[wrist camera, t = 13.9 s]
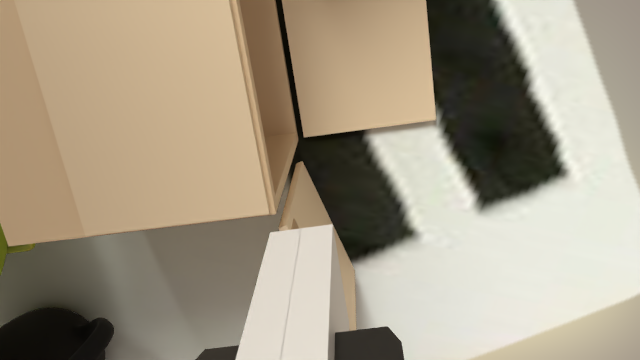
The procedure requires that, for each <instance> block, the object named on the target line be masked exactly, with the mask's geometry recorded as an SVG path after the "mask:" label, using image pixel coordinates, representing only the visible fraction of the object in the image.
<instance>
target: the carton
mask: <svg viewBox="0 0 640 360" xmlns="http://www.w3.org/2000/svg"><path fill="white" fill-rule="evenodd" d="M282 5H283V11H284V17H285V23H286V29H287V36H288V42H289V48H290V54H291V60H292V67H293V73H294V79H295V85H296V91H297V98H298V104H299V110H300V116H301V122H302V129H303V135H304V137H311V136H319V135H326V134H334V133H342V132H349V131H357V130H364V129H372V128H379V127H387V126H395V125H402V124H410V123H417V122H425V121H432V120H436V113H435V101H434V89H433V77H432V65H431V54H430V42H429V30H428V18H427V7H426V0H282ZM297 143H298V134H297V128H296V122H295V116H294V109H293V103H292V97H291V91H290V85H289V79H288V73H287V67H286V61H285V55H284V49H283V43H282V37H281V30H280V24H279V18H278V12H277V6H276V0H0V224H1V227H2V229H3V232H4V235H5V238H6V241H7V244H8V246H17V245H25V244H33V243H42V242H50V241H58V240H67V239H75V238H83V237H91V236H100V235H108V234H116V233H125V232H133V231H141V230H150V229H158V228H166V227H174V226H183V225H191V224H199V223H208V222H216V221H224V220H232V219H241V218H249V217H257V216H266V215H274V214H276V212H277V209H278V206H279V202H280V199H281V196H282V192H283V189H284V186H285V183H286V179H287V176H288V173H289V169H290V166H291V163H292V159H293V156H294V153H295V150H296V146H297Z"/></svg>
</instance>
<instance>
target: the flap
mask: <svg viewBox="0 0 640 360" xmlns="http://www.w3.org/2000/svg"><path fill="white" fill-rule="evenodd" d="M330 224H332V222H331V220H330V218H329V216H328V214H327V211H326V209H325V207H324V205H323V203H322V201H321V199H320V197H319V195H318V193H317V191H316V188H315V186H314V184H313V182H312V180H311V178H310V176H309V174H308V172H307V170H306V168H305V165H304V163H303V161H301V162H299V163H296V167H295V170H294V174H293V177H292V181H291V185H290V188H289V192H288V196H287V199H286V203H285V206H284V210H283V214H282V217H281V221H280V224H279V228H278V229H279V231H285V230H292V229H300V228H308V227H315V226H323V225H330ZM333 229H334V235H335V241H336V247H337V253H338V259H339V265H340V271H341V277H342V283H343V289H344V295H345V301H346V307H347V313H348V319H349V331H353V330H356V295H355V270H354V268H353V266H352V264H351V262H350V260H349V258H348V255H347V253H346V251H345V249H344V247H343V245H342V243H341V241H340V239H339V237H338V234H337V232H336V230H335V228H334V226H333Z"/></svg>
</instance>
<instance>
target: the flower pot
mask: <svg viewBox="0 0 640 360" xmlns="http://www.w3.org/2000/svg"><path fill="white" fill-rule="evenodd" d="M34 247H35V243H33V244H25V245H17V246H8V244H7V241H6V238H5V235H4V232H3V229H2V227H1V224H0V275H1V272H2V270H3V266H4V262H5V258H6V254H7V253H16V252H24V251H29V250H31V249H33V248H34Z"/></svg>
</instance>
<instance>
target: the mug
mask: <svg viewBox="0 0 640 360" xmlns="http://www.w3.org/2000/svg"><path fill="white" fill-rule="evenodd" d="M113 335H114V328H113V325H112V324H111V323H110V322H109V321H108V320H107V319H105V318H97V319H95V320H93V321H91V322H89V321H87V320H86V319H85V318H83V317H82V316H80V315H78V314H76V313H74V312H72V311H69V310H66V309H61V308H43V309H37V310H34V311H30V312H28V313H25V314H23V315H21V316H19V317H17V318H15V319H13V320H11V321H10V322H8V323H6V324H5V325H3V326H2V327H0V360H105V350H104V349H105V348H106V347H107V345H108V344H109V342H110V341H111V339H112V337H113Z"/></svg>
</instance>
